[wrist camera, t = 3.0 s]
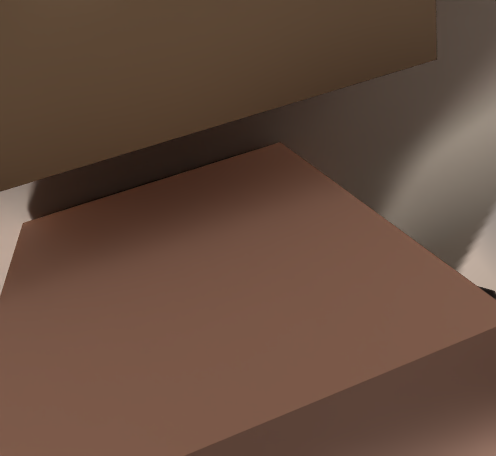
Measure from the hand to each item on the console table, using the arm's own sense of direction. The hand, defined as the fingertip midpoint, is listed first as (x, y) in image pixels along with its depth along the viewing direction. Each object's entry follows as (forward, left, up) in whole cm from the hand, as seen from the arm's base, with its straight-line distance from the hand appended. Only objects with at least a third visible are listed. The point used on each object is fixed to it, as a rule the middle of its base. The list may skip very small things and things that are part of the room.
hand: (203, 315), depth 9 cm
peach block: (0, 0, -1) cm, 1 cm away
